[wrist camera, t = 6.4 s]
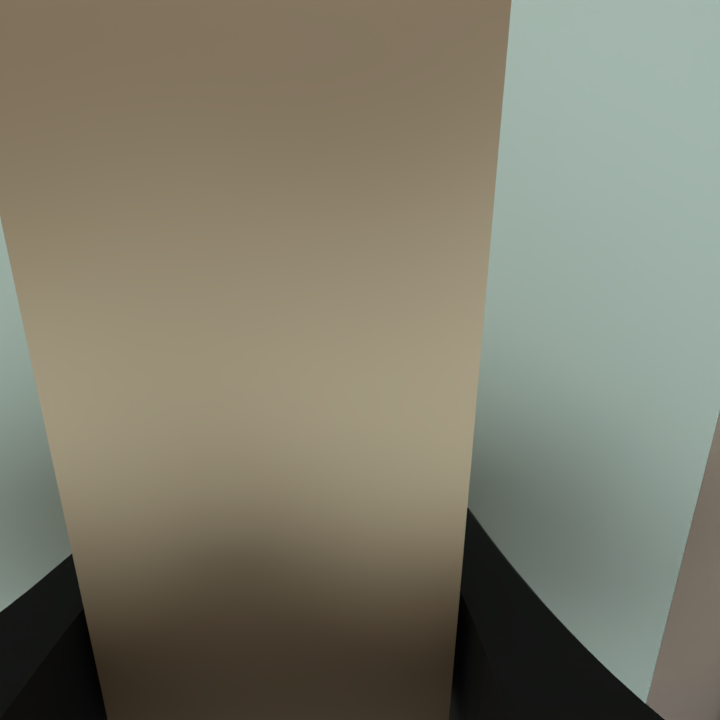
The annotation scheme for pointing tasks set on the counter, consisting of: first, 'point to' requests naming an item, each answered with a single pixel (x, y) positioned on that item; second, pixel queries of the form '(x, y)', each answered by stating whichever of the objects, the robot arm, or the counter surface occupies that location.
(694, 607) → the counter surface
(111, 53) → the oak bar
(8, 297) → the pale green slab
